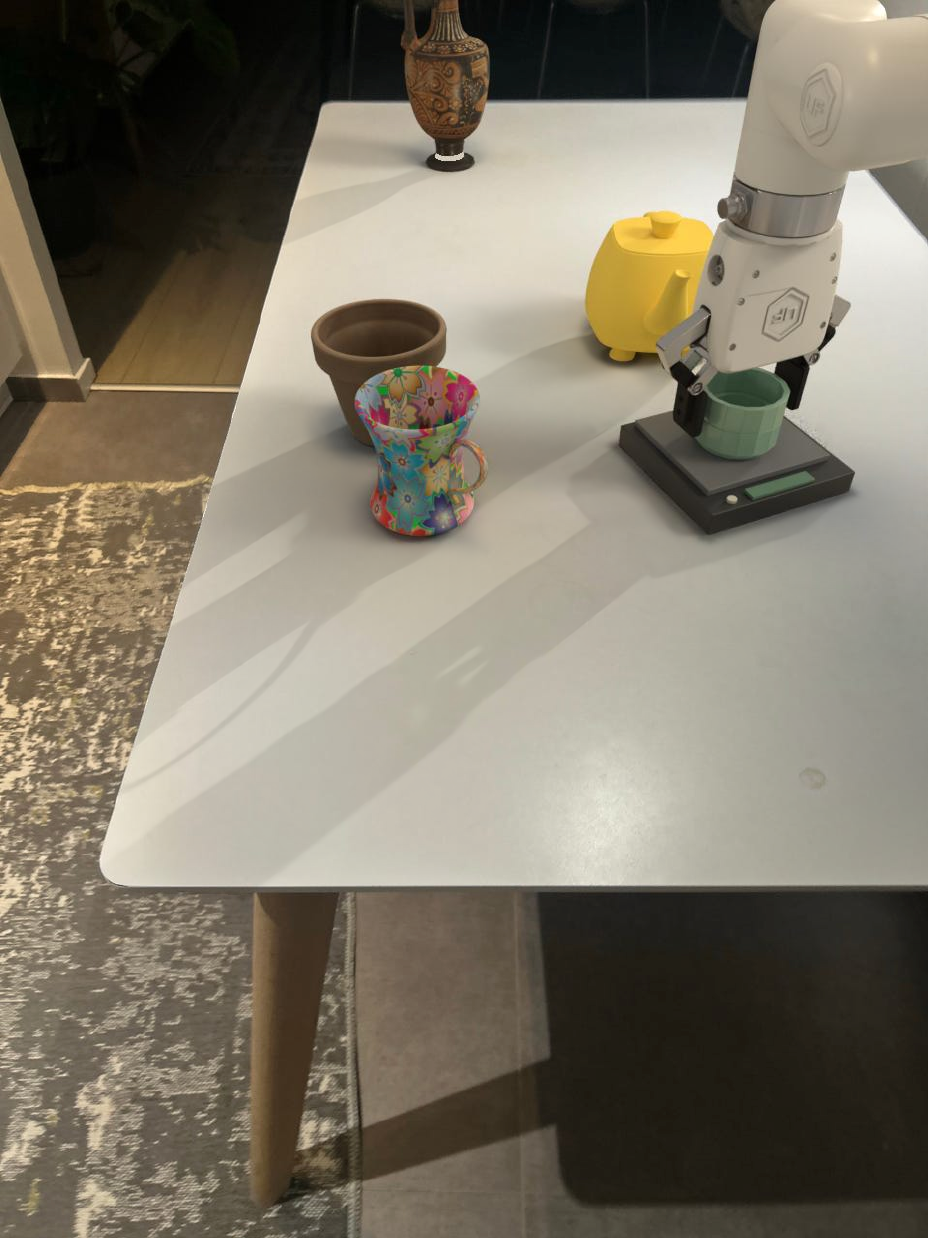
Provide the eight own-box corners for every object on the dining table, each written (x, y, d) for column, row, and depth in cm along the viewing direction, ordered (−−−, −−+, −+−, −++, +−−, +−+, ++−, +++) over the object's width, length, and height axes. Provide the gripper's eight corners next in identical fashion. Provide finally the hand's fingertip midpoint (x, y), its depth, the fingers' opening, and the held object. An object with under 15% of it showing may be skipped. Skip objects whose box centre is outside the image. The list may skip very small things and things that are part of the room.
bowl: (792, 451, 77) (807, 398, 73) (721, 470, 75) (733, 417, 71) (743, 409, 81) (755, 357, 78) (675, 427, 79) (684, 375, 76)
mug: (343, 509, 76) (328, 395, 68) (427, 463, 80) (422, 352, 73) (441, 580, 70) (437, 463, 62) (526, 526, 74) (532, 411, 67)
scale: (849, 491, 77) (858, 465, 75) (707, 535, 73) (713, 509, 71) (748, 409, 86) (754, 384, 84) (618, 444, 82) (621, 419, 80)
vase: (498, 172, 131) (501, -93, 110) (412, 180, 129) (399, -88, 108) (478, 145, 139) (478, -106, 118) (397, 152, 137) (382, -102, 116)
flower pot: (359, 385, 90) (349, 286, 83) (467, 408, 87) (466, 307, 80) (300, 448, 82) (284, 344, 75) (416, 476, 79) (410, 370, 72)
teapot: (700, 301, 102) (721, 180, 93) (737, 397, 87) (766, 266, 78) (575, 302, 102) (585, 181, 93) (592, 398, 88) (605, 267, 79)
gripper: (710, 245, 60) (671, 464, 72) (917, 202, 65) (848, 414, 77) (649, 205, 65) (622, 416, 77) (845, 168, 70) (791, 372, 82)
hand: (735, 415), depth 77 cm, fingers open, 9 cm apart
